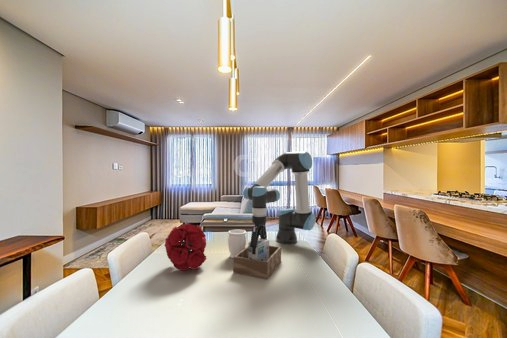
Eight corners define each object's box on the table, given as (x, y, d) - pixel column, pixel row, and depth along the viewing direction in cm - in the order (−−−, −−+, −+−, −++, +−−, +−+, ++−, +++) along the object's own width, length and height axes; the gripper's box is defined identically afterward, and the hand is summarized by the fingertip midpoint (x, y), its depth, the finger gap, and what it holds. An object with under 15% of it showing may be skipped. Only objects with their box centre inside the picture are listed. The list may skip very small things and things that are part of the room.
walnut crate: (251, 256, 140) (252, 242, 140) (281, 261, 133) (281, 247, 133) (233, 272, 118) (233, 256, 118) (267, 279, 111) (267, 262, 111)
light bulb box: (258, 266, 119) (258, 244, 119) (247, 262, 123) (247, 242, 123) (269, 259, 128) (269, 239, 128) (259, 256, 132) (259, 237, 132)
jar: (246, 253, 144) (247, 229, 144) (244, 260, 134) (244, 234, 134) (229, 253, 145) (230, 228, 145) (226, 259, 135) (226, 233, 135)
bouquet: (170, 271, 133) (153, 264, 107) (180, 230, 145) (166, 214, 119) (208, 274, 133) (200, 268, 107) (214, 233, 145) (208, 218, 119)
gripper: (260, 211, 138) (260, 248, 138) (243, 219, 116) (242, 263, 116) (272, 212, 135) (272, 249, 135) (257, 220, 113) (257, 265, 113)
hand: (258, 255), depth 125 cm, fingers closed on light bulb box, 11 cm apart
